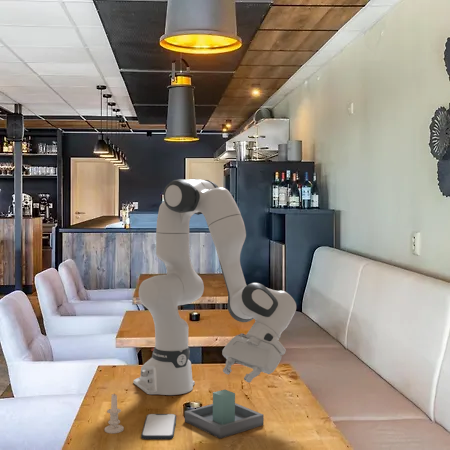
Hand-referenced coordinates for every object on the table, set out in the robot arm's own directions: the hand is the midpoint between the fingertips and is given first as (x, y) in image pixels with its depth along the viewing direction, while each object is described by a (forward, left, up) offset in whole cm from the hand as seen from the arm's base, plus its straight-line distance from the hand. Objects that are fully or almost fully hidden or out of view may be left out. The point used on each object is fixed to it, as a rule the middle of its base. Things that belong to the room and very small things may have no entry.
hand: (235, 376), depth 174 cm
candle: (-15, -32, -13) cm, 37 cm away
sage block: (0, -5, -12) cm, 13 cm away
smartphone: (-8, -21, -13) cm, 26 cm away
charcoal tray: (0, -4, -13) cm, 13 cm away
